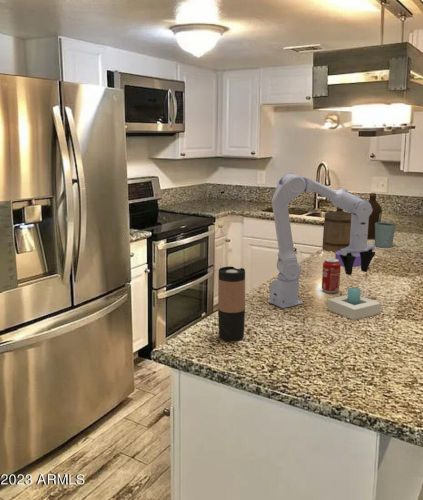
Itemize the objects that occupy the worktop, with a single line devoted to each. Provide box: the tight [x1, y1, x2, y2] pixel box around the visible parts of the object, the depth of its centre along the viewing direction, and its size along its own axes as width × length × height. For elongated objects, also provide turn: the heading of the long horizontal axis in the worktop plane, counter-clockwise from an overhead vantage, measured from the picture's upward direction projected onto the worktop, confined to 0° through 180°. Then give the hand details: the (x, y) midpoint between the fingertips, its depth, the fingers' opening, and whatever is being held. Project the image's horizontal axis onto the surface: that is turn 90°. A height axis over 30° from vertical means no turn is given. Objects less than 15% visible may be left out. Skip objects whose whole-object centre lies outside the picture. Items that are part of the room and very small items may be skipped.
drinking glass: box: [374, 221, 397, 249], centre depth 260 cm, size 10×10×12 cm
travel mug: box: [217, 265, 246, 342], centre depth 143 cm, size 8×8×20 cm
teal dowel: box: [347, 286, 362, 305], centre depth 165 cm, size 4×4×7 cm
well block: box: [326, 294, 382, 321], centre depth 165 cm, size 12×12×4 cm
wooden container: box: [322, 206, 352, 253], centre depth 253 cm, size 15×15×22 cm
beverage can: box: [321, 257, 342, 294], centre depth 186 cm, size 6×6×12 cm
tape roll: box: [334, 251, 361, 268], centre depth 226 cm, size 12×12×5 cm
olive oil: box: [367, 192, 383, 240], centre depth 280 cm, size 11×11×25 cm
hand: (356, 272), depth 175 cm, fingers open, 7 cm apart
